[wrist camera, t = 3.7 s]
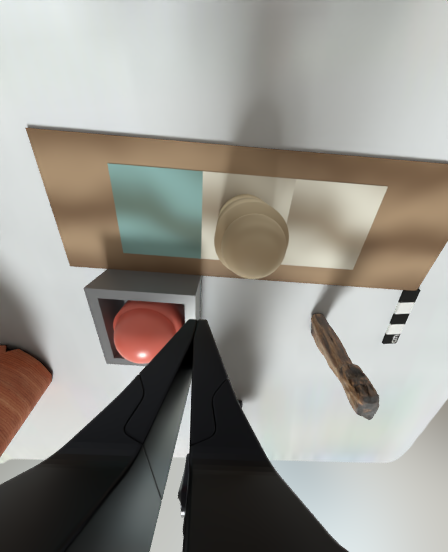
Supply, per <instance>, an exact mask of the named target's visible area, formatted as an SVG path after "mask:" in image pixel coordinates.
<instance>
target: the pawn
mask: <svg viewBox="0 0 448 552" xmlns="http://www.w3.org/2000/svg"><path fill="white" fill-rule="evenodd" d="M288 242H289V231H288V227H287V224H286V222H285V220H284V218H283V217H282V216H281V214H280V213H279V212H278V211H276V210H275V209H274V208H272V207H271V206H270V205H268V204H267V203H265V202H264V201H263V200H261V199H260V198H258V197H256V196H254V195H250V194H241V195H237V196H235V197H233V198H231V199H229V200H228V201H227V202H226V203H225V204H224V205H223V207H222V208H221V210H220V213H219V216H218V221H217V226H216V231H215V236H214V246H215V251H216V254H217V256H218V258H219V260H220V261H221V262H222V264H223V265H224V266H225V267H227V268H228V269H229V270H231V271H232V272H234V273H235V274H237V275H238V276H241V277H243V278H247V279H259V278H263V277H266V276H268V275H270V274H271V273H273V272H274V271H275V270H276V269H277V268H278V267H279V266H280V265H281V263H282V261H283V259H284V257H285V254H286V250H287V247H288Z"/></svg>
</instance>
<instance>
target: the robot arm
mask: <svg viewBox="0 0 448 552" xmlns="http://www.w3.org/2000/svg"><path fill="white" fill-rule="evenodd" d="M191 379H192V391H191V421H190V452H189V454H187V457H186V464H185V470H184V474H183V477H182V481H181V485H180V488H179V492H178V498H179V500H180V502H181V517H184V524H183V536H184V539H183V552H348V551H347V550H346V549H345V548H343V547H342V546H341V545H339V544H338V543H337V541H336V540H335V539H334V538H333V537H332V536H331V535H330V534H329V533H328V532H327V531H326V529H325V528H324V527H323V526H322V525H321V524H320V522H319V521H318V520H317V519H316V518H315V517H314V515H313V514H312V513H311V512H310V511H309V509H308V508H307V507H306V506H305V505H304V504H303V502H302V501H301V500H300V499H299V498H298V496H297V495H296V494H295V493H294V492H293V491H292V489H291V488H290V487H289V486H288V485H287V484H286V482H285V481H284V480H283V479H282V478H281V476H280V475H279V474H278V473H277V471H276V470H275V469H274V467H273V466H272V464H271V463H270V461H269V459H268V457H267V456H266V454H265V452H264V450H263V449H262V447H261V445H260V443H259V441H258V439H257V437H256V435H255V433H254V432H253V430H252V428H251V426H250V424H249V422H248V420H247V418H246V416H245V414H244V412H243V410H242V401H238V400H237V398H236V395H235V393H234V391H233V388H232V386H231V383H230V380H229V379H228V375H227V372H226V370H225V367H224V364H223V362H222V359H221V356H220V354H219V351H218V348H217V346H216V343H215V340H214V338H213V335H212V332H211V330H210V327H209V324H208V322H207V320H204V319H199V320H197V319H189V320H188V321H187V322H186V323H185V324H184V325H183V326H182V327H181V328H180V329H179V330H178V332H177V333H176V334H175V335H174V336H173V337H172V338H171V339H170V340H169V341H168V343H167V344H166V345H165V346H164V347H163V348H162V349H161V350H160V351H159V352H158V353H157V355H156V356H155V357H154V358H153V359H152V360H151V361H150V362H149V363H148V364H147V366H146V367H145V368H144V369H143V370H142V371H141V372H140V373H139V375H137V376H136V377H135V379H134V380H133V381H132V382H131V383H130V384H129V385H128V386H127V387H126V388H125V389H124V390H123V391H122V392H121V393H120V394H119V395H118V396H117V397H116V398H115V399H114V400H113V401H112V402H111V403H110V404H109V405H108V406H107V407H106V408H105V409H104V410H103V411H101V412H100V413H99V414H98V415H97V416H96V417H95V418H94V419H93V420H92V421H91V422H90V423H88V424H87V425H86V426H85V427H84V428H83V429H82V430H81V431H80V432H79V433H78V434H76V435H75V436H74V437H73V438H72V439H71V440H70V441H69V442H68V443H67V444H65V445H64V446H63V447H62V448H61V449H59V450H58V451H57V452H56V453H54V454H53V455H52V456H50V457H49V458H47V459H46V460H44V461H43V462H41V463H40V464H38V465H36V466H34V467H33V468H31V469H29V470H27V471H25V472H23V473H21V474H19V475H18V476H16V477H14V478H12V479H10V480H8V481H6V482H4V483H3V484H1V485H0V552H149V551H150V547H151V543H152V539H153V535H154V531H155V526H156V522H157V518H158V514H159V510H160V506H161V500H162V498H163V494H164V489H165V485H166V481H167V477H168V473H169V469H170V465H171V461H172V457H173V453H174V449H175V445H176V440H177V436H178V432H179V428H180V424H181V420H182V416H183V412H184V408H185V404H186V399H187V395H188V391H189V387H190V383H191Z"/></svg>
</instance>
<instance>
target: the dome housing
mask: <svg viewBox="0 0 448 552" xmlns="http://www.w3.org/2000/svg"><path fill="white" fill-rule="evenodd" d="M84 291H85V294H86V298H87V301H88V304H89V307H90V311H91V314H92V317H93V320H94V324H95V327H96V330H97V334H98V337H99V340H100V343H101V347H102V350H103V353H104V357H105V360H106V363H107V364H121V365H137V366H147V364H148V363H146V364H138V363H133V362H130V361H128V360H126V359H125V358H124V357H122V356H121V355H120V353H119V352H118V351H117V349H116V347H115V344H114V328H113V322H114V318H115V316H116V315H117V313H118V312H119V311H120V310H121V308H122V307H123V306H124V304H125V303H126V302H127V301H128V300H132V301H146V302H161V303H176V304H182V305H183V307H184V309H185V322H184V324H185V323H186V322H187V321H188V320H189V319H197V320H199V319H200V301H201V275H187V274H173V273H159V272H145V271H131V270H117V269H107V270H106V271H105V272H103V273H102V274H101V275H100V276H98V277H97V278H96V279H94V280H93V281H92V282H91V283H89V284H88V285H87V286H86V287H84Z"/></svg>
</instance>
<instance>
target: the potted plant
mask: <svg viewBox="0 0 448 552" xmlns="http://www.w3.org/2000/svg"><path fill="white" fill-rule="evenodd" d="M51 381H52V374H51V373H50V372H49V371H48V370H47V369H46V368H45V367H44V366H43V365H42V363H41V362H40V361H38V360H37V359H35V358H34V357H32V356H31V355H29V354H27V353H26V352H24V351H22V350H20V349H15V350H9V349H7V346H6V345H0V457H1V455H2V454H3V452H4V451H5V449H6V448H7V446H8V445H9V443H10V442H11V440H12V439H13V438H14V436H15V435H16V433H17V432H18V430H19V429H20V427H21V426H22V424H23V423H24V421H25V420H26V418H27V417H28V415H29V414H30V412H31V411H32V410H33V408H34V407H35V405H36V404H37V402H38V401H39V399H40V398H41V396H42V395H43V393H44V392H45V390H46V389H47V387H48V386H49V384H50V383H51Z"/></svg>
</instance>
